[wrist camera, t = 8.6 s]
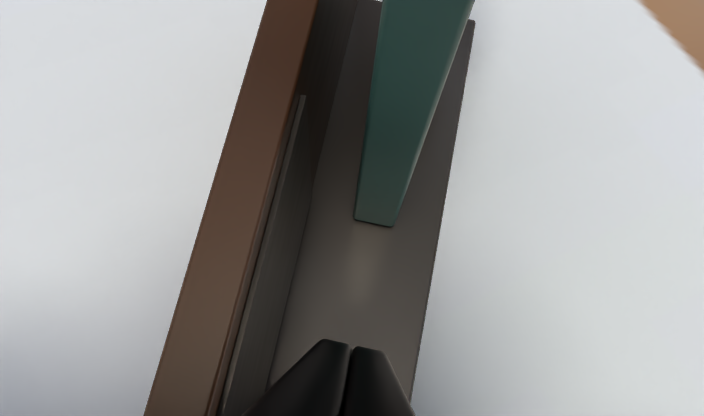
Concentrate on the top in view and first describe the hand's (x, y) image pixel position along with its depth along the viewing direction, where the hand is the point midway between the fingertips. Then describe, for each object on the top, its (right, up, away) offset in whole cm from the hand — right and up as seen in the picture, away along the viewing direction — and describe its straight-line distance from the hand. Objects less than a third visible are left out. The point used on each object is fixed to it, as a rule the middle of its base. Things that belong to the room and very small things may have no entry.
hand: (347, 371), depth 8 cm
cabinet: (0, +2, +8) cm, 8 cm away
